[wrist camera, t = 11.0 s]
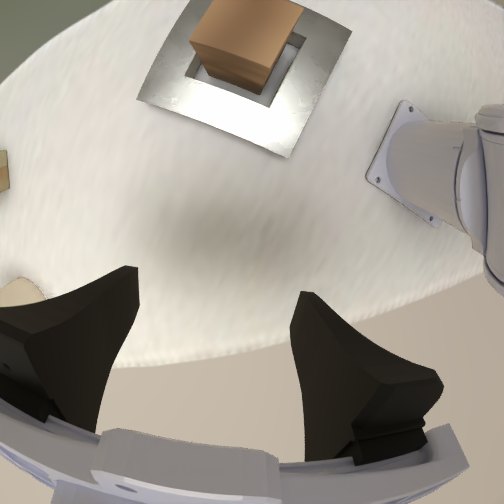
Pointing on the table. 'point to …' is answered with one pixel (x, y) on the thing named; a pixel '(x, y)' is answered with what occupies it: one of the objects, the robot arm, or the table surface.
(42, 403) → the robot arm
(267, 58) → the peg
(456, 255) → the table surface
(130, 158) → the table surface
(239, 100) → the collar
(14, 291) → the foam cup
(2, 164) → the box
